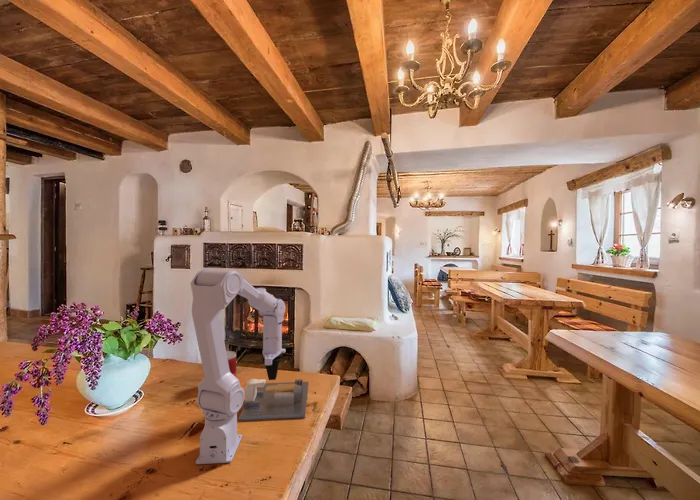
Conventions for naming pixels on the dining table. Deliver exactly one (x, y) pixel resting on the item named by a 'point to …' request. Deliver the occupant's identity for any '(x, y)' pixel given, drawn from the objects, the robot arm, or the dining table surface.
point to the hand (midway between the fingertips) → (272, 378)
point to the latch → (253, 388)
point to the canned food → (232, 361)
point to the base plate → (274, 409)
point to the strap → (281, 387)
